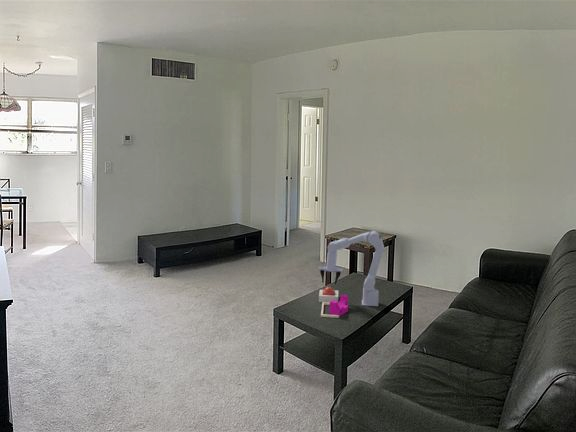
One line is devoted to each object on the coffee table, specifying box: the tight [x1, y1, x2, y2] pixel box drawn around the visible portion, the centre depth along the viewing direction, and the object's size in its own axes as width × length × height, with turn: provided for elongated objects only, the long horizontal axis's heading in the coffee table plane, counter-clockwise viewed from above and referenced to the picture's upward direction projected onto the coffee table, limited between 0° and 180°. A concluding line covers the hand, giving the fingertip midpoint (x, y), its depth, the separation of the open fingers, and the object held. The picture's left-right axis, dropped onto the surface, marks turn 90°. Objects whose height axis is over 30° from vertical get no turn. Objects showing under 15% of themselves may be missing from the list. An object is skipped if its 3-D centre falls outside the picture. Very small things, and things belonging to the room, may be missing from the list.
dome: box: [322, 286, 335, 295], centre depth 288 cm, size 7×7×6 cm
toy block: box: [328, 294, 349, 317], centre depth 269 cm, size 15×6×8 cm, turn 145°
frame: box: [320, 302, 340, 319], centre depth 270 cm, size 10×20×1 cm, turn 174°
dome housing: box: [318, 289, 339, 303], centre depth 288 cm, size 12×12×4 cm
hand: (329, 282), depth 286 cm, fingers open, 7 cm apart
